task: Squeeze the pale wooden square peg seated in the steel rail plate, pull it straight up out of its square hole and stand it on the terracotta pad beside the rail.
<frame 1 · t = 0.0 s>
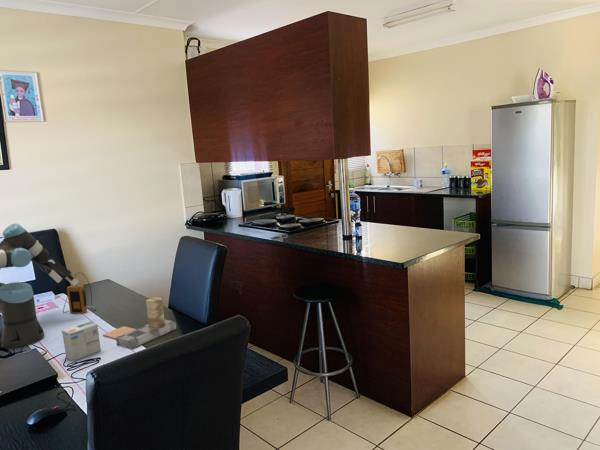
hand: (68, 282, 214), 15 cm above the table, tool tilted 35°, fingers open, 13 cm apart
rail: (147, 336, 183), on the table
multimeter: (83, 310, 221), on the table
pad: (121, 333, 187), on the table
peg: (157, 332, 187), resting in rail
light bulb box: (83, 354, 169), on the table
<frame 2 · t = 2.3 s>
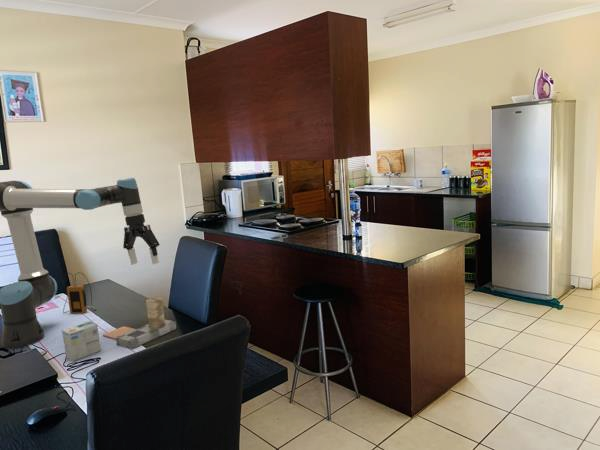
hand: (144, 263, 194), 26 cm above the table, tool pointing down, fingers open, 13 cm apart
nothing on the table moved.
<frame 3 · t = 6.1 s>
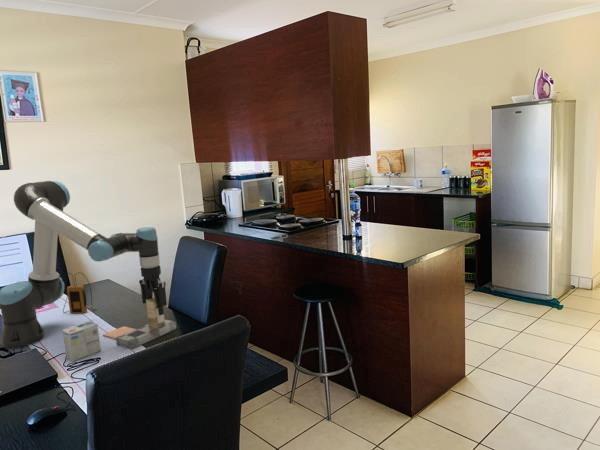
hand: (156, 321, 186), 5 cm above the table, tool pointing down, fingers closed on peg, 4 cm apart
peg: (157, 332, 187), resting in rail, touching gripper
everything else where it was.
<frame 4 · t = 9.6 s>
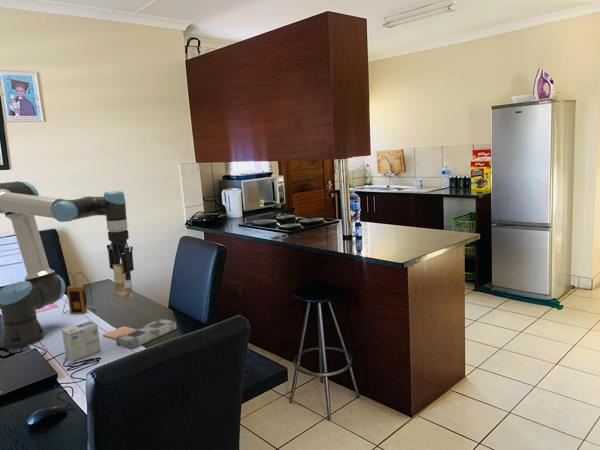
hand: (123, 286, 184), 20 cm above the table, tool pointing down, fingers closed on peg, 4 cm apart
peg: (124, 297, 185), point 15 cm above the table, touching gripper
everything else where it was.
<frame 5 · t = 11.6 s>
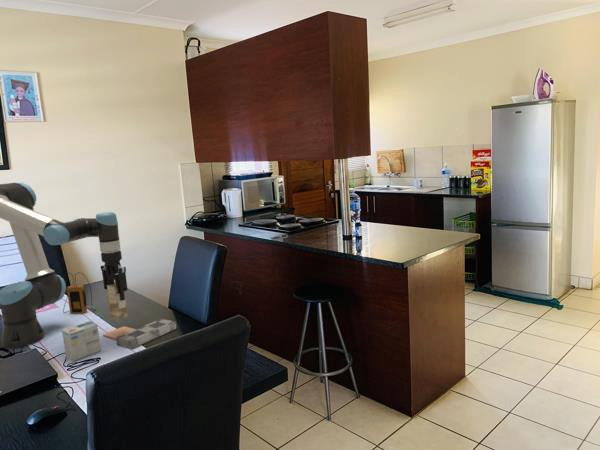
hand: (118, 306, 185), 12 cm above the table, tool pointing down, fingers closed on peg, 4 cm apart
peg: (119, 317, 186), point 7 cm above the table, touching gripper
everything else where it was.
when the fingers open (7 cm above the table, at t = 13.1 s): peg drops 2 cm, resting on pad.
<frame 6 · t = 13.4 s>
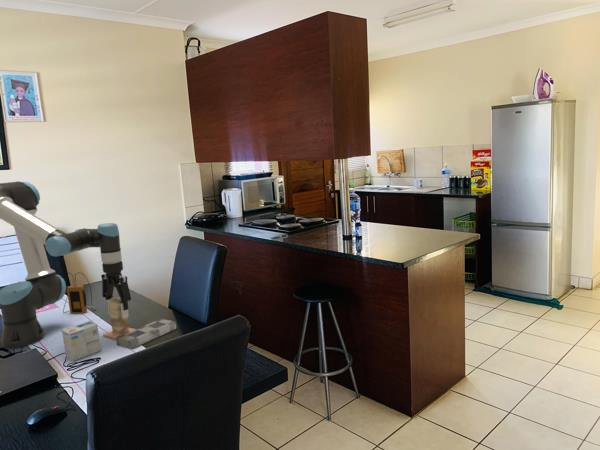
hand: (118, 315, 186), 8 cm above the table, tool pointing down, fingers open, 8 cm apart
peg: (120, 332, 187), point 1 cm above the table, touching pad
everything else where it was.
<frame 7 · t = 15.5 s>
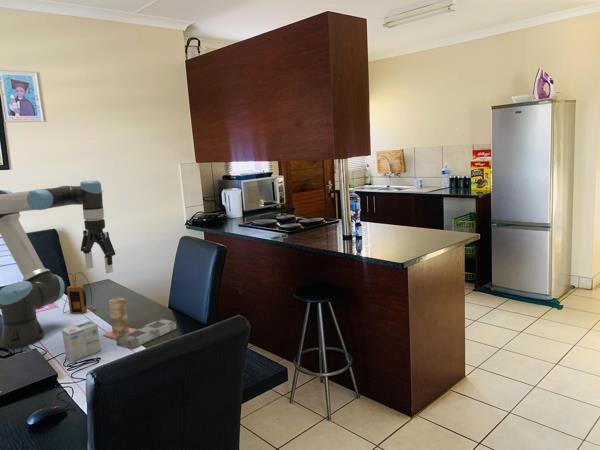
hand: (99, 270, 186), 26 cm above the table, tool pointing down, fingers open, 13 cm apart
nothing on the table moved.
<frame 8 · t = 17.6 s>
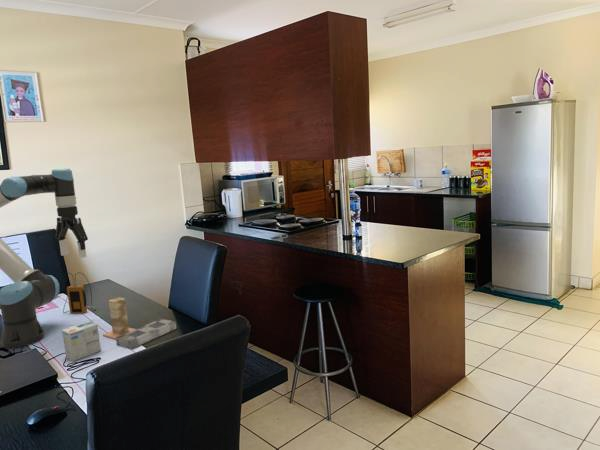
hand: (73, 256, 192), 32 cm above the table, tool pointing down, fingers open, 13 cm apart
nothing on the table moved.
at the end: peg inside the target area on the pad (0.0 cm from its centre), point 0.6 cm above the pad's base; peg tilted 0° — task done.
